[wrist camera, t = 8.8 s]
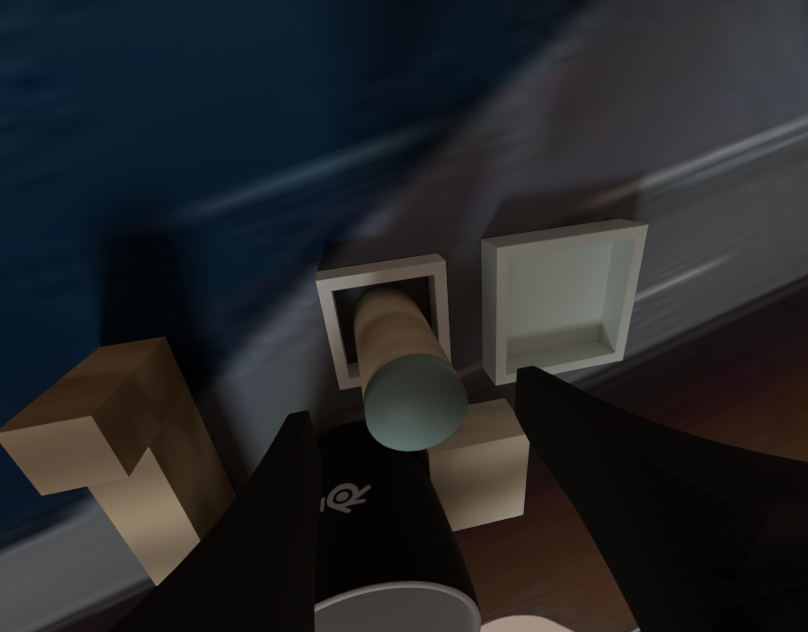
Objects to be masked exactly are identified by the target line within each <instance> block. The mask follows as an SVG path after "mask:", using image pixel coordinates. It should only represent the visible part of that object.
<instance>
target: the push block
mask: <svg viewBox="0 0 808 632" xmlns="http://www.w3.org/2000/svg"><path fill="white" fill-rule="evenodd" d="M528 452H529V441H528V439H527V437H526V435H525V433H524V431H523V430H522V428H521V426H520V424H519V422H518V420H517V418H516V416H515V412H514V410H513V409H512V407H511V406H510V405H509V403H508V402H507V400H506V399H505V398H502V399H497V400H492V401H486V402H481V403H476V404H471V405H468V407H467V412H466V415H465V417H464V419H463V421H462V423H461V424H460V426H459V427H458V428H457V430H456V431H455V432H454V433H453V434H452V435H451V436H449V437H448V438H447V439H445V440H444V441H442V442H441V443H439V444H437V445H435V446H432V447H429V448H426V449H423V450H419V456H420V461H421V463H422V465H423V467H424V468H425V470H426V472H427V474H428V476H429V478H430V480H431V482H432V484H433V487H434V489H435V491H436V493H437V495H438V498H439V500H440V502H441V505H442V507H443V509H444V512H445V514H446V516H447V519H448V521H449V524H450V526H451V529H452V531H457V530H461V529H465V528H469V527H473V526H478V525H482V524H486V523H490V522H494V521H499V520H503V519H507V518H511V517H515V516H520V515H523V508H524V497H525V486H526V474H527V463H528Z"/></svg>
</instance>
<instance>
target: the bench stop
mask: <svg viewBox="0 0 808 632" xmlns="http://www.w3.org/2000/svg"><path fill="white" fill-rule="evenodd" d="M0 443H1V444H2V446H3V447H4V448H5V450H6V451H7V452H8V453H9V455H10V456H11V457H12V458H13V460H14V461H15V462H16V464H17V465H18V466H19V467H20V469H21V470H22V471H23V472H24V474H25V475H26V476H27V478H28V479H29V480H30V481H31V483H32V484H33V485H34V486H35V488H36V489H37V490H38V492H39V493H40V494H41V495H47V494H52V493H57V492H61V491H66V490H71V489H76V488H81V487H85V486H87V487H88V488H89V489H90V491H91V492H92V494H93V495H94V497H95V498H96V500H97V501H98V502H99V504H100V505H101V507H102V508H103V510H104V511H105V512H106V514H107V515H108V517H109V518H110V520H111V521H112V523H113V524H114V525H115V527H116V528H117V530H118V531H119V533H120V534H121V535H122V537H123V538H124V540H125V541H126V543H127V544H128V546H129V547H130V548H131V550H132V551H133V553H134V554H135V556H136V557H137V559H138V560H139V561H140V563H141V564H142V566H143V567H144V569H145V570H146V571H147V573H148V574H149V576H150V577H151V579H152V580H153V582H154V583H155V584H156V586H158V585H159V584H160V583H161V582H162V581H163V580H164V579H165V578H166V577H167V576H168V575H169V574H170V573H171V572H172V571H173V570H174V569H175V568H176V567H177V566H178V565H179V564H180V563H181V562H182V561H183V559H184V558H185V557H186V556H187V555H188V554H189V553H190V552H191V551H192V550H193V549H194V547H195V546H196V545H197V544H198V543H199V542H200V541H201V540H202V539H203V538H204V536H205V535H206V534H207V533H208V532H209V531H210V530H211V528H212V527H213V526H214V525H215V524H216V522H217V521H218V520H219V519H220V517H221V516H222V515H223V514H224V513H225V511H226V510H227V509H228V507H229V506H230V505H231V504H232V502H233V501H234V500H235V498H236V494H235V492H234V490H233V488H232V485H231V483H230V481H229V479H228V477H227V474H226V472H225V470H224V468H223V465H222V463H221V461H220V459H219V456H218V454H217V452H216V450H215V447H214V445H213V443H212V441H211V438H210V436H209V434H208V432H207V429H206V427H205V425H204V423H203V420H202V418H201V416H200V414H199V411H198V409H197V407H196V405H195V402H194V400H193V398H192V396H191V393H190V391H189V389H188V387H187V384H186V382H185V380H184V378H183V375H182V373H181V371H180V369H179V366H178V364H177V362H176V360H175V357H174V355H173V353H172V351H171V348H170V346H169V344H168V342H167V339H166V337H165V336H164V337H158V338H152V339H146V340H140V341H134V342H128V343H122V344H116V345H110V346H104V347H99V348H98V349H97V350H96V351H94V352H93V353H92V354H91V355H89V356H88V357H87V358H86V359H85V360H83V361H82V362H81V363H80V364H78V365H77V366H76V367H75V368H74V369H72V370H71V371H70V372H69V373H67V374H66V375H65V376H64V377H63V378H61V379H60V380H59V381H58V382H56V383H55V384H54V385H53V386H52V387H50V388H49V389H48V390H47V391H45V392H44V393H43V394H42V395H41V396H39V397H38V398H37V399H36V400H34V401H33V402H32V403H31V404H30V405H28V406H27V407H26V408H25V409H23V410H22V411H21V412H20V413H19V414H17V415H16V416H15V417H14V418H12V419H11V420H10V421H9V422H8V423H6V424H5V425H4V426H3V427H1V428H0Z"/></svg>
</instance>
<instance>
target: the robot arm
mask: <svg viewBox="0 0 808 632" xmlns="http://www.w3.org/2000/svg"><path fill="white" fill-rule="evenodd" d="M515 416H516V418H517V420H518V422H519V424H520V426H521V428H522V430H523V431H524V433H525V435H526V437H527V439H528V441H529V442H530V443H531V445H532V446H533V448H534V449H535V451H536V452H537V454H538V455H539V457H540V458H541V459H542V461H543V462H544V464H545V465H546V466H547V468H548V469H549V471H550V472H551V474H552V475H553V476H554V478H555V479H556V481H557V482H558V483H559V485H560V486H561V488H562V489H563V490H564V492H565V493H566V495H567V496H568V498H569V499H570V501H571V502H572V504H573V505H574V507H575V508H576V510H577V512H578V513H579V515H580V517H581V519H582V520H583V522H584V524H585V526H586V527H587V529H588V531H589V533H590V534H591V536H592V538H593V540H594V541H595V543H596V545H597V547H598V549H599V551H600V553H601V554H602V556H603V558H604V560H605V562H606V564H607V565H608V567H609V569H610V571H611V573H612V575H613V577H614V579H615V581H616V583H617V584H618V586H619V588H620V590H621V592H622V594H623V596H624V598H625V600H626V602H627V604H628V606H629V608H630V610H631V612H632V614H633V616H634V618H635V620H636V622H637V624H638V626H639V628H640V630H641V632H808V462H804V461H799V460H794V459H789V458H784V457H779V456H774V455H769V454H764V453H759V452H755V451H751V450H747V449H743V448H739V447H735V446H731V445H727V444H723V443H719V442H716V441H712V440H708V439H705V438H701V437H698V436H695V435H692V434H689V433H685V432H682V431H679V430H676V429H673V428H670V427H667V426H664V425H661V424H659V423H656V422H653V421H651V420H648V419H645V418H643V417H640V416H637V415H635V414H632V413H630V412H628V411H625V410H623V409H621V408H619V407H616V406H614V405H612V404H610V403H607V402H605V401H603V400H601V399H599V398H597V397H595V396H593V395H591V394H589V393H586V392H584V391H583V390H581V389H579V388H577V387H575V386H573V385H571V384H569V383H567V382H565V381H563V380H561V379H559V378H557V377H555V376H554V375H552V374H550V373H548V372H546V371H544V370H542V369H540V368H538V367H535V366H528V367H523V368H518V369H517V376H516V400H515ZM321 492H322V468H321V454H320V451H319V447H318V443H317V440H316V436H315V432H314V429H313V425H312V422H311V418H310V414H309V411H308V410H307V411H302V412H297V413H292V414H289V415H288V416H287V418H286V419H285V421H284V423H283V425H282V427H281V428H280V430H279V432H278V434H277V435H276V437H275V439H274V441H273V442H272V444H271V446H270V447H269V449H268V451H267V452H266V454H265V455H264V457H263V459H262V460H261V462H260V463H259V465H258V467H257V468H256V470H255V471H254V473H253V474H252V476H251V477H250V478H249V480H248V481H247V483H246V484H245V486H244V487H243V488H242V490H241V491H240V493H239V494H238V496H237V497H236V498H235V500H234V501H233V502H232V504H231V505H230V506H229V507H228V509H227V510H226V511H225V513H224V514H223V515H222V516H221V517H220V519H219V520H218V521H217V522H216V524H215V525H214V526H213V527H212V528H211V530H210V531H209V532H208V533H207V534H206V535H205V536H204V538H203V539H202V540H201V541H200V542H199V543H198V544H197V545H196V546H195V547H194V549H193V550H192V551H191V552H190V553H189V554H188V555H187V556H186V557H185V558H184V559H183V561H182V562H181V563H180V564H179V565H178V566H177V567H176V568H175V569H174V570H173V571H172V572H171V573H170V574H169V575H168V576H167V577H166V578H165V579H164V580H163V581H162V582H161V583H160V584H159V585H158V586H157V587H156V588H155V589H154V590H152V591H151V592H150V593H149V594H148V595H147V596H146V597H145V598H144V599H143V600H142V601H141V602H140V603H139V604H138V605H137V606H136V607H134V608H133V609H132V610H131V611H130V612H129V613H128V614H127V615H126V616H124V617H123V618H122V619H121V620H120V621H119V622H118V623H117V624H115V625H114V626H113V627H112V628H111V629H110V630H109V631H107V632H315V560H316V549H317V538H318V527H319V516H320V504H321Z"/></svg>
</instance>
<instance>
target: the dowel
mask: <svg viewBox="0 0 808 632" xmlns="http://www.w3.org/2000/svg"><path fill="white" fill-rule="evenodd" d="M353 325H354V333H355V340H356V348H357V356H358V363H359V371H360V379H361V387H362V394H363V402H364V410H365V417H366V423H367V427H368V429H369V431H370V433H371V434H372V436H373V437H374V438H375V439H376V440H377V441H378V442H380V443H381V444H383V445H385V446H386V447H389V448H391V449H395V450H400V451H417V450H423V449H426V448H429V447H432V446H435V445H437V444H439V443H441V442H442V441H444V440H445V439H447V438H448V437H449V436H451V435H452V434H453V433H454V432H455V431H456V430H457V428H458V427H459V426H460V424H461V423H462V421H463V419H464V417H465V415H466V412H467V407H468V396H467V392H466V389H465V387H464V385H463V383H462V382H461V380H460V378H459V376H458V375H457V373H456V371H455V369H454V368H453V366H452V364H451V363H450V361H449V359H448V357H447V356H446V354H445V352H444V350H443V349H442V347H441V345H440V344H439V342H438V340H437V338H436V337H435V335H434V333H433V331H432V330H431V328H430V326H429V325H428V323H427V321H426V319H425V318H424V316H423V314H422V312H421V311H420V309H419V307H418V305H417V304H416V302H415V300H414V299H413V297H412V296H411V295H410V294H409V293H408V292H406V291H405V290H403V289H401V288H399V287H395V286H379V287H376V288H373V289H371V290H369V291H368V292H366V293H365V294H364V295H363V296H362V297H361V298H360V299H359V300H358V302H357V303H356V305H355V308H354V311H353Z"/></svg>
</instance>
